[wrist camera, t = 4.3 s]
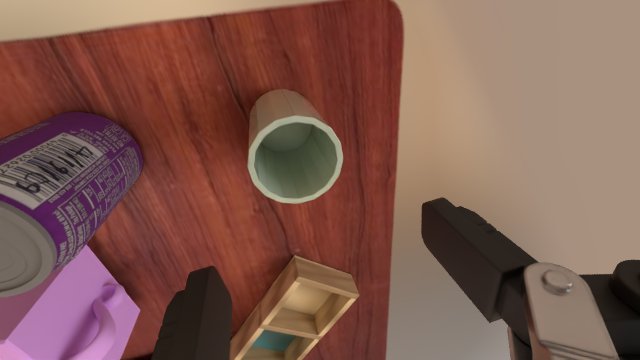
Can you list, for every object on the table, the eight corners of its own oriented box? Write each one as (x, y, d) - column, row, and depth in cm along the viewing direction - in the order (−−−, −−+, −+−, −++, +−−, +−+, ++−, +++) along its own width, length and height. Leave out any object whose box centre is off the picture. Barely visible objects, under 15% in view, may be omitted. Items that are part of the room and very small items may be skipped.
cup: (270, 74, 23) (279, 96, 15) (327, 111, 25) (360, 146, 17) (237, 134, 24) (230, 180, 17) (293, 163, 27) (310, 215, 19)
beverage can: (23, 114, 20) (-215, 198, 10) (127, 105, 21) (11, 171, 11) (70, 194, 24) (-70, 319, 13) (157, 182, 25) (91, 288, 15)
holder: (294, 254, 33) (298, 276, 30) (351, 274, 36) (359, 295, 34) (228, 342, 38) (227, 368, 35) (285, 351, 41) (287, 375, 39)
